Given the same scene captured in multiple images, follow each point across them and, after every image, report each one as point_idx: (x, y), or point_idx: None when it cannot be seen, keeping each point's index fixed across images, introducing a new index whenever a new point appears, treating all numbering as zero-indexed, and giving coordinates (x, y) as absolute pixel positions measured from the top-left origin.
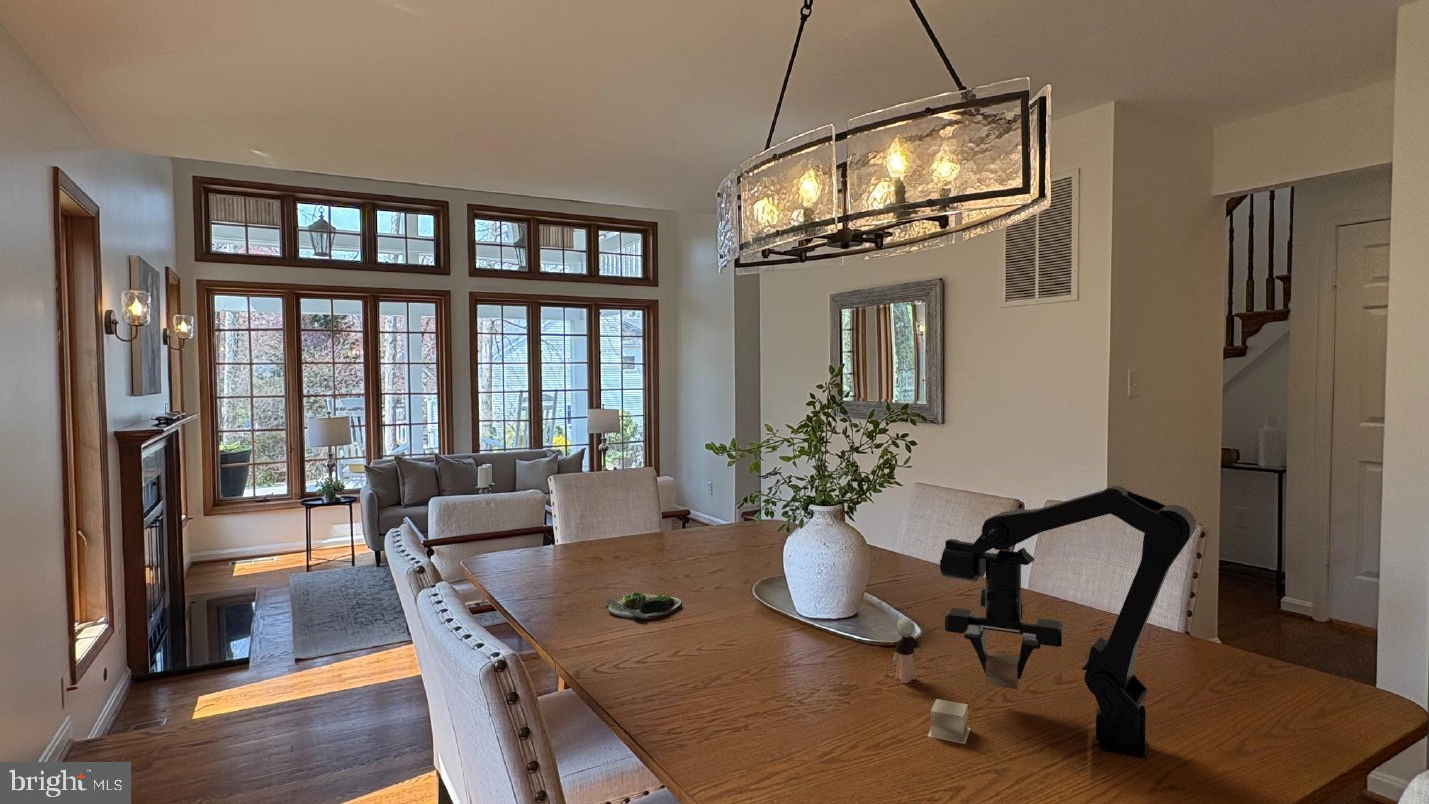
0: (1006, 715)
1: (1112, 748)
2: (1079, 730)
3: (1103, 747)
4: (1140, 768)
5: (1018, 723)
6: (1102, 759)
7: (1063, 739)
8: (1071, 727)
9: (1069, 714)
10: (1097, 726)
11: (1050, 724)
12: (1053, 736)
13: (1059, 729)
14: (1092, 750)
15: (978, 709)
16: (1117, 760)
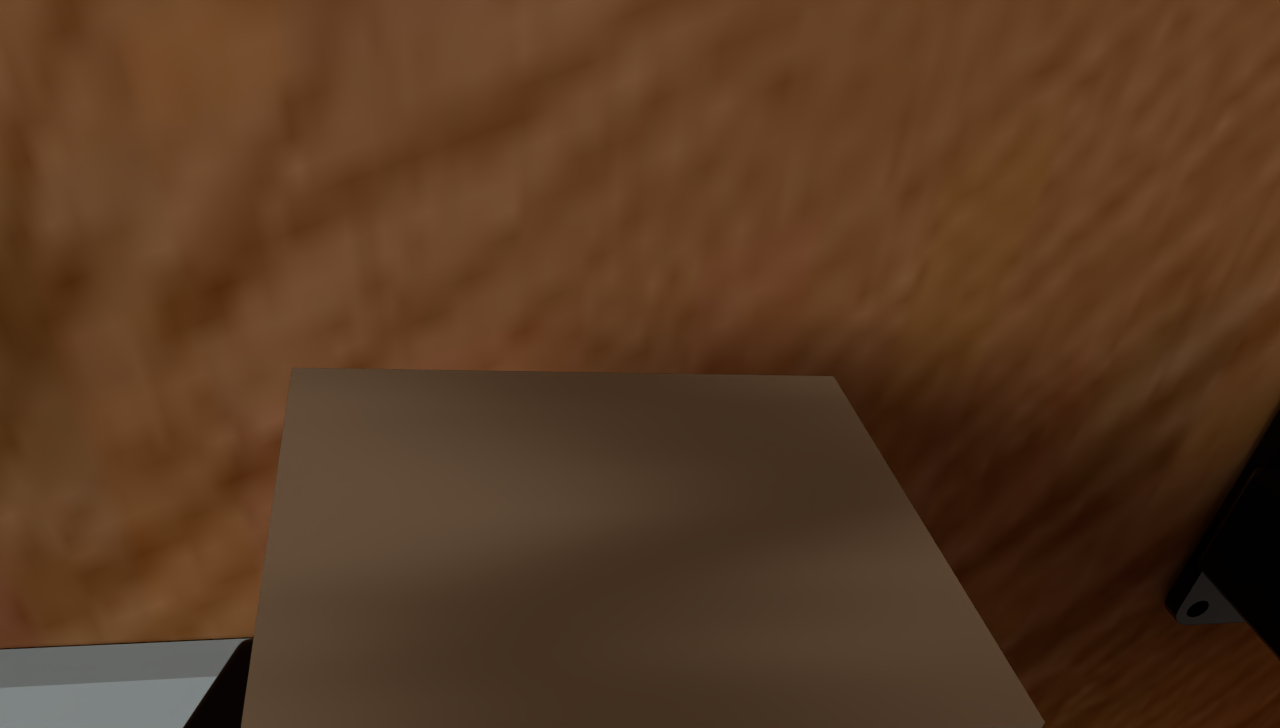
0: (548, 330)
1: (1238, 621)
2: (1155, 381)
3: (1188, 623)
4: (1274, 692)
5: None
6: (1113, 690)
7: (966, 562)
8: (1112, 352)
9: (1225, 64)
10: (1272, 650)
11: (947, 363)
12: None
13: (994, 425)
14: (1104, 622)
15: (222, 297)
16: (1196, 667)
